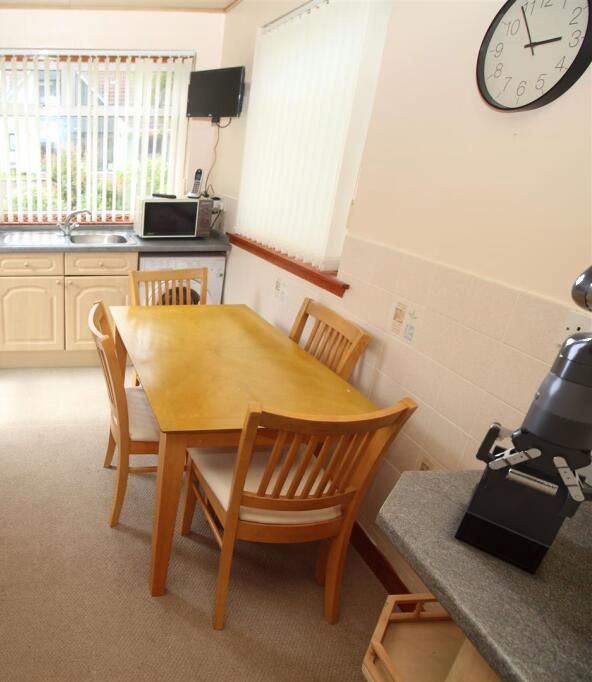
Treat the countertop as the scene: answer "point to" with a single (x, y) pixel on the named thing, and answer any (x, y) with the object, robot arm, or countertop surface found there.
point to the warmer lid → (523, 500)
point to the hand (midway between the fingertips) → (522, 501)
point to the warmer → (500, 541)
